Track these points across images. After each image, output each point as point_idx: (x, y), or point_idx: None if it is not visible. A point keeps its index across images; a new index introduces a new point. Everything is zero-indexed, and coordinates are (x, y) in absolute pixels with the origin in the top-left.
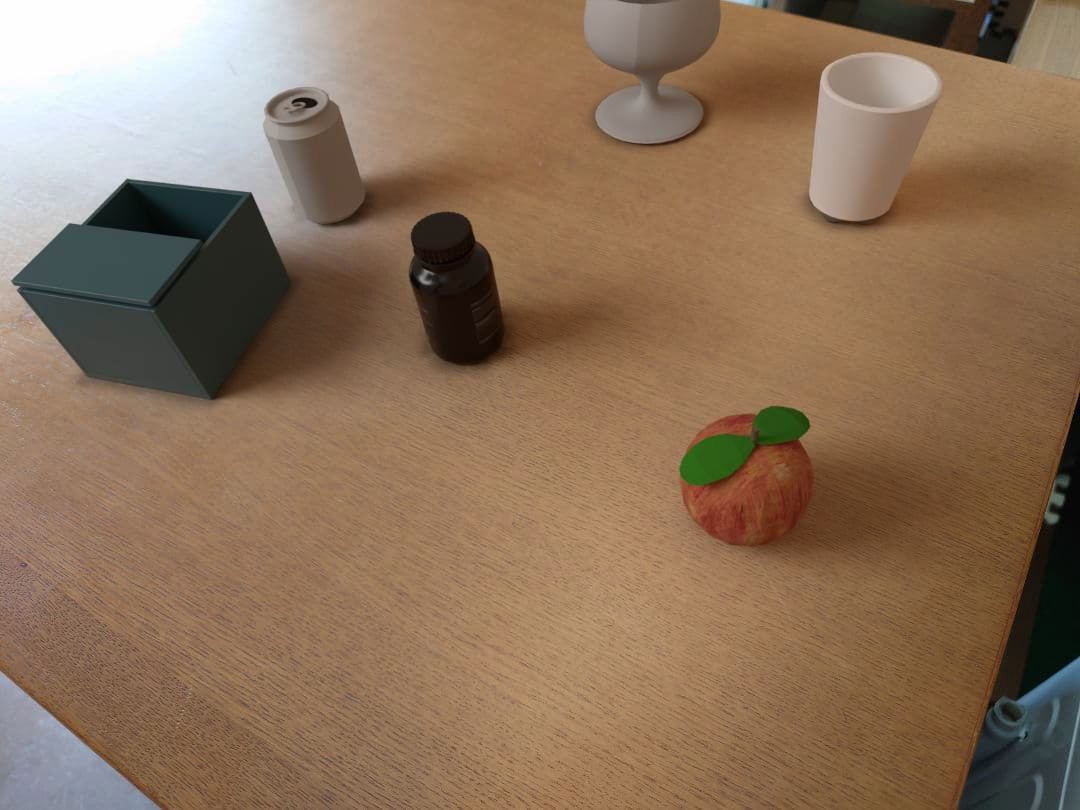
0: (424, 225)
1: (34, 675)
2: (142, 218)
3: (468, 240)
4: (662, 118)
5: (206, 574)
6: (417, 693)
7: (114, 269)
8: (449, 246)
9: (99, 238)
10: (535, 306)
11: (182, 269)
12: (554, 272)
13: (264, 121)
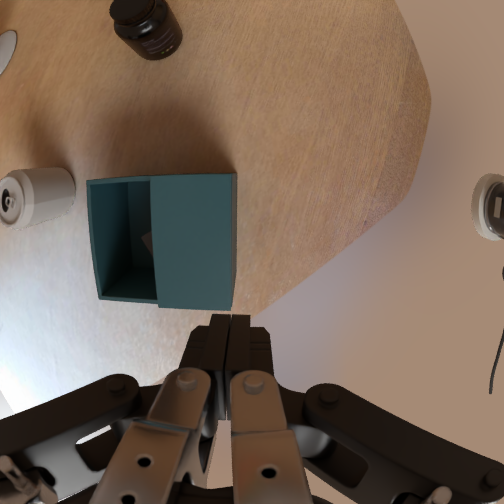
0: (124, 13)
1: (410, 180)
2: (118, 284)
3: None
4: (3, 44)
5: (352, 116)
6: (370, 15)
7: (199, 230)
8: None
9: (167, 269)
10: None
11: (151, 230)
12: (104, 26)
13: (23, 225)
